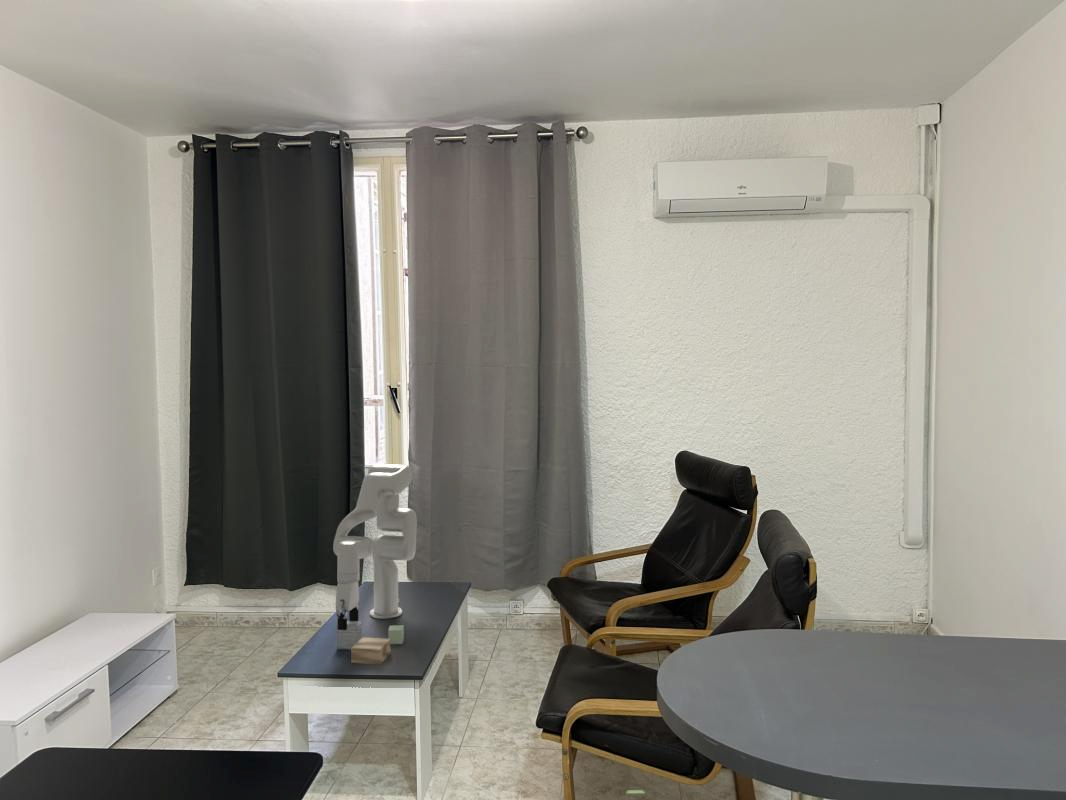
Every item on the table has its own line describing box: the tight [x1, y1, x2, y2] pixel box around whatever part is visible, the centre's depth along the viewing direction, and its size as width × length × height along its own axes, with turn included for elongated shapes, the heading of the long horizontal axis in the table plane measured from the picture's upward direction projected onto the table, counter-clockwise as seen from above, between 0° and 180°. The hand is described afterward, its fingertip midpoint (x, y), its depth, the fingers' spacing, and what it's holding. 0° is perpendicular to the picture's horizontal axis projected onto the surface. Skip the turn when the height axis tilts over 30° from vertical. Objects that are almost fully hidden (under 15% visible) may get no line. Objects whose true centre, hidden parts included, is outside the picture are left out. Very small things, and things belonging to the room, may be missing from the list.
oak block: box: [350, 636, 392, 666], centre depth 254 cm, size 10×10×5 cm
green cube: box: [387, 624, 405, 645], centre depth 269 cm, size 5×5×5 cm
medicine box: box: [336, 620, 363, 650], centre depth 263 cm, size 8×4×9 cm, turn 84°
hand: (348, 625), depth 261 cm, fingers open, 9 cm apart
